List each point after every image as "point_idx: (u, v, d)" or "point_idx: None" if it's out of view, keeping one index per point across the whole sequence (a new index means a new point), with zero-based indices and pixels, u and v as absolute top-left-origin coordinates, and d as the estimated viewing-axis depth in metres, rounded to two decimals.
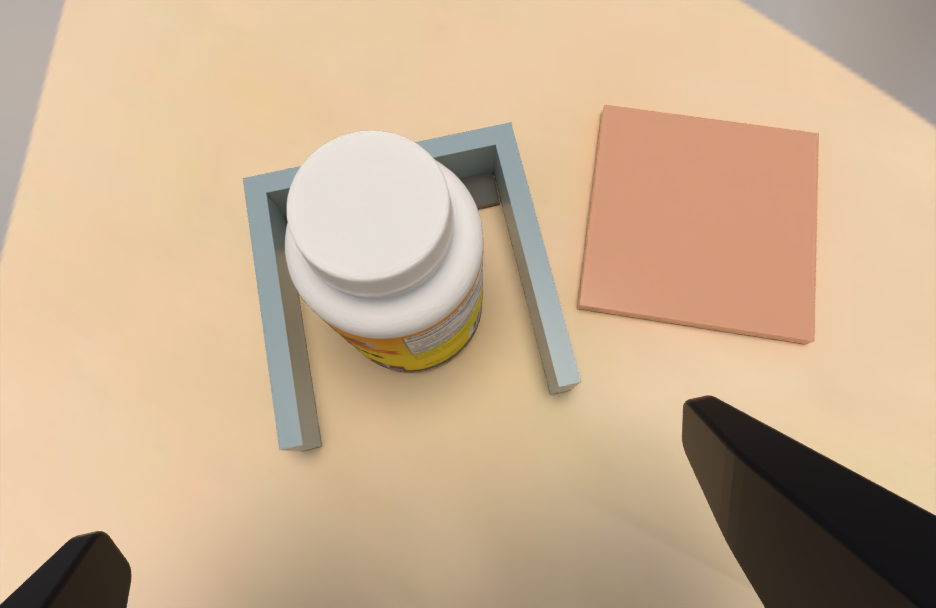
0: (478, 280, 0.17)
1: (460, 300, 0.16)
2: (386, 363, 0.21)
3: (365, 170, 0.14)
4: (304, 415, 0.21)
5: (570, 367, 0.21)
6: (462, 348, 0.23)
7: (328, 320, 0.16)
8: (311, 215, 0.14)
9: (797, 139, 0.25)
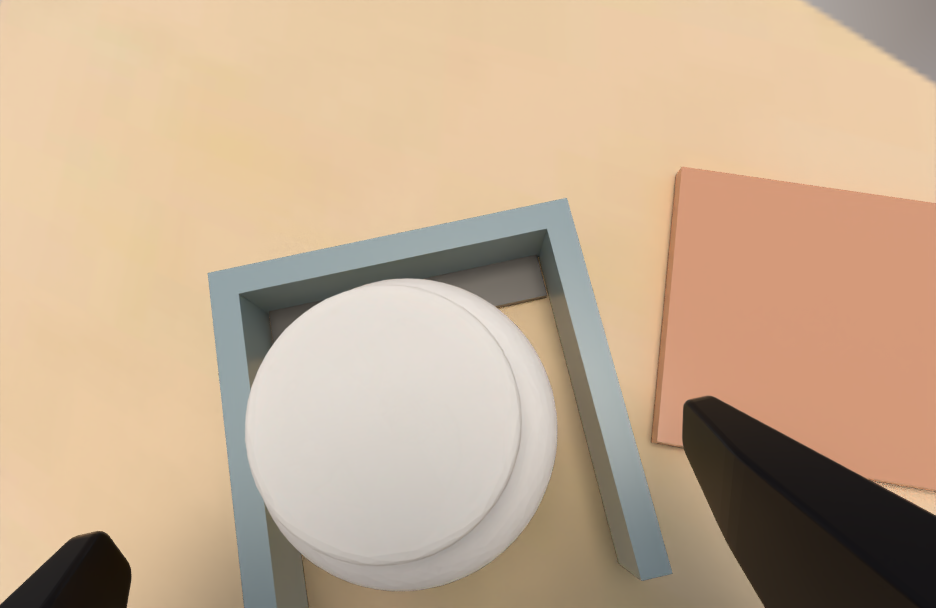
0: None
1: (523, 528, 0.10)
2: None
3: (378, 357, 0.09)
4: None
5: (656, 551, 0.15)
6: None
7: (317, 565, 0.10)
8: (286, 440, 0.08)
9: None
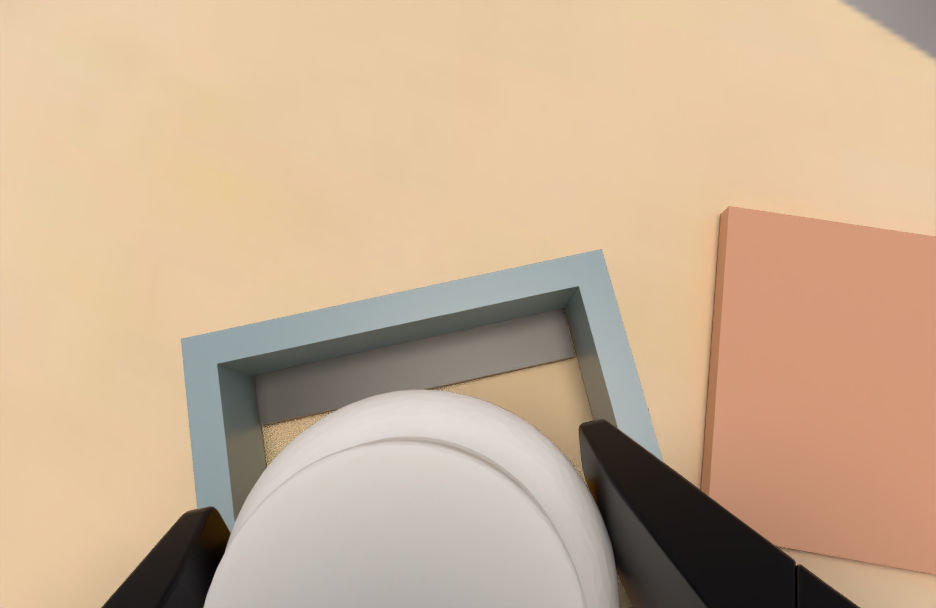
0: None
1: None
2: None
3: (387, 555, 0.06)
4: None
5: None
6: None
7: None
8: None
9: None
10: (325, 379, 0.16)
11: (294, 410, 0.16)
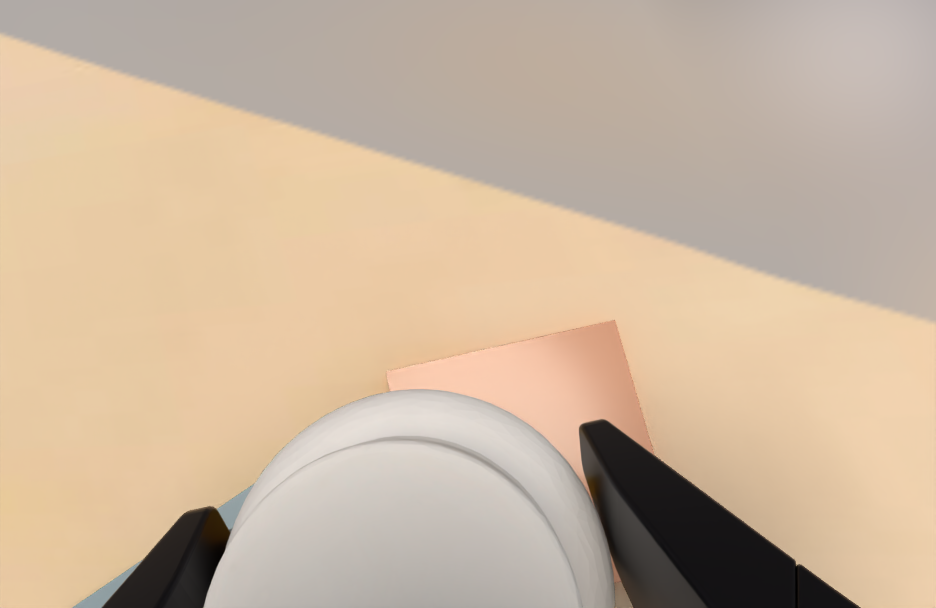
0: None
1: None
2: None
3: (385, 552, 0.06)
4: None
5: None
6: None
7: None
8: None
9: (596, 335, 0.23)
10: None
11: None
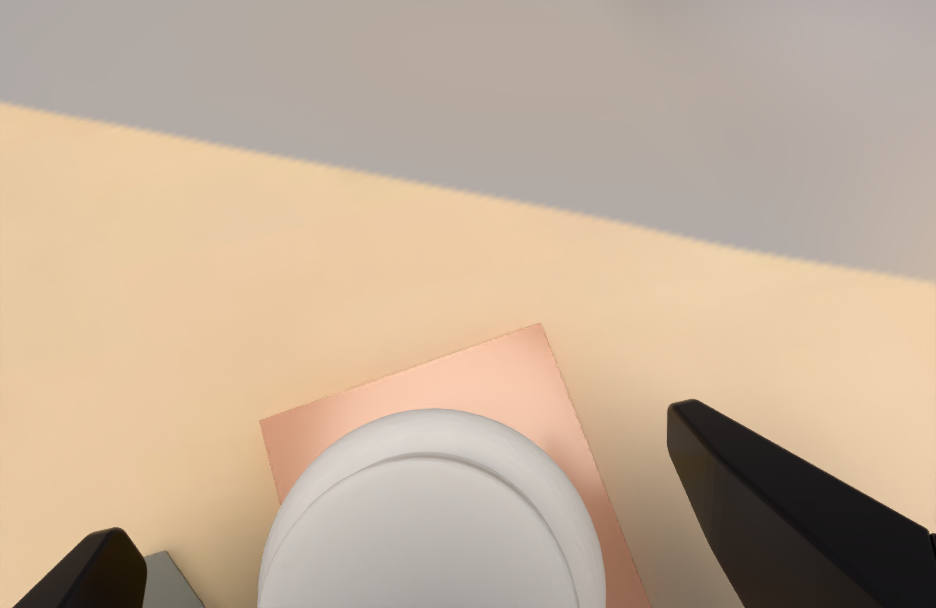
0: None
1: None
2: None
3: (411, 553, 0.07)
4: None
5: None
6: None
7: None
8: None
9: (519, 344, 0.18)
10: None
11: None
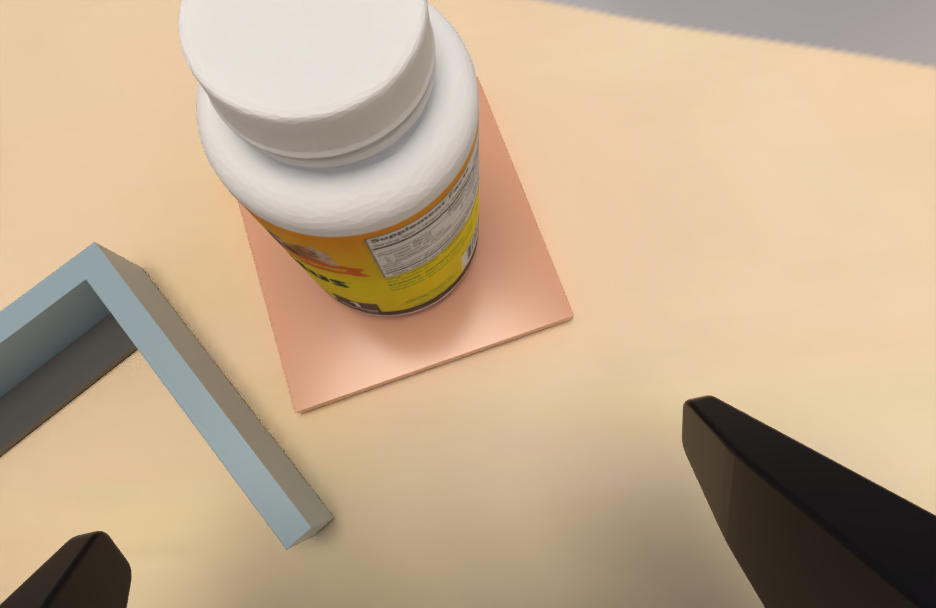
0: (472, 165, 0.12)
1: (446, 182, 0.11)
2: (354, 299, 0.16)
3: None
4: None
5: (290, 516, 0.15)
6: (453, 285, 0.18)
7: (256, 208, 0.11)
8: (215, 26, 0.09)
9: None
10: None
11: None
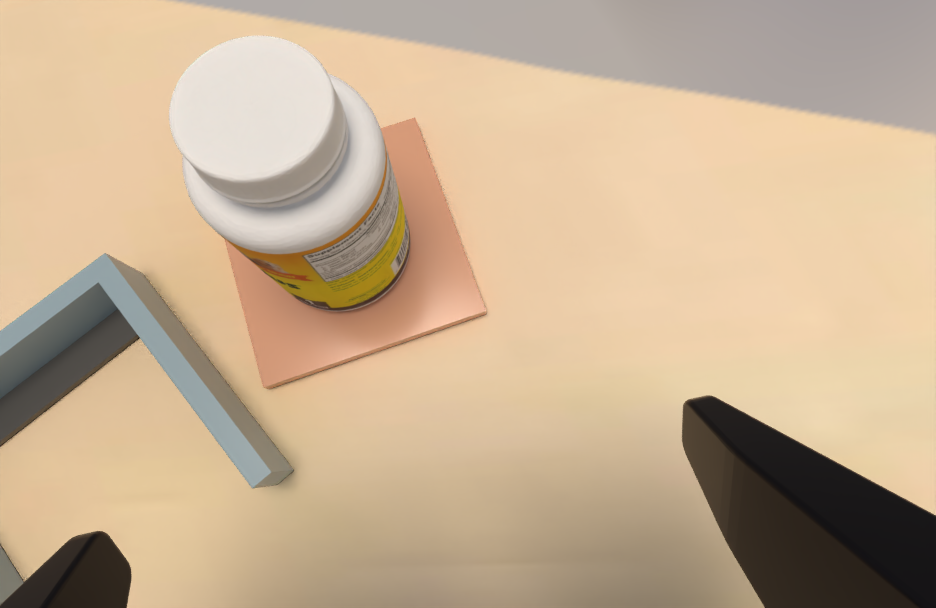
0: (383, 200, 0.17)
1: (359, 215, 0.16)
2: (307, 298, 0.21)
3: (250, 73, 0.14)
4: None
5: (256, 463, 0.20)
6: (388, 286, 0.22)
7: (224, 234, 0.16)
8: (193, 117, 0.14)
9: (398, 132, 0.25)
10: None
11: None
